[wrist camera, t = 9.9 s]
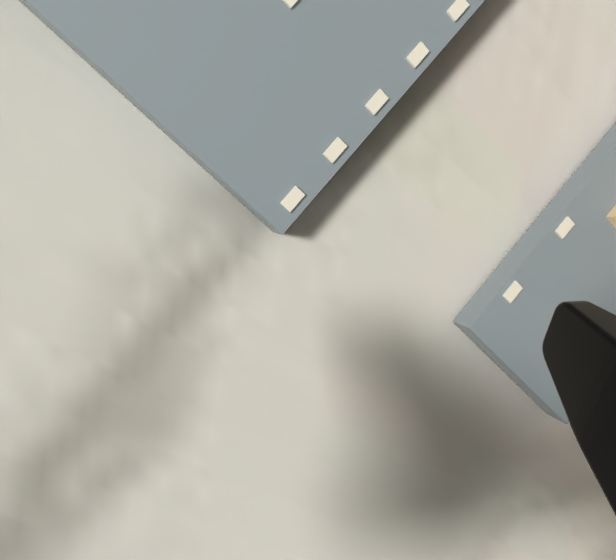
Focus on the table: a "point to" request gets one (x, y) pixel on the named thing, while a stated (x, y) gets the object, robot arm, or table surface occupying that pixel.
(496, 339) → the grey slab with post
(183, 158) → the table surface
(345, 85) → the board
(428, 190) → the table surface
